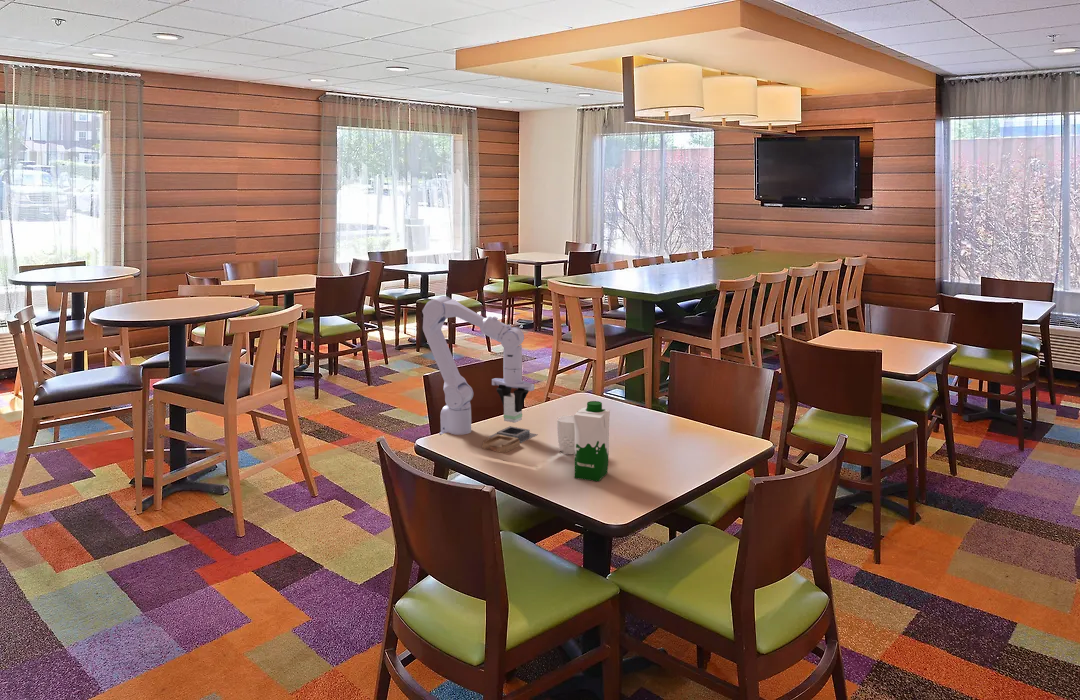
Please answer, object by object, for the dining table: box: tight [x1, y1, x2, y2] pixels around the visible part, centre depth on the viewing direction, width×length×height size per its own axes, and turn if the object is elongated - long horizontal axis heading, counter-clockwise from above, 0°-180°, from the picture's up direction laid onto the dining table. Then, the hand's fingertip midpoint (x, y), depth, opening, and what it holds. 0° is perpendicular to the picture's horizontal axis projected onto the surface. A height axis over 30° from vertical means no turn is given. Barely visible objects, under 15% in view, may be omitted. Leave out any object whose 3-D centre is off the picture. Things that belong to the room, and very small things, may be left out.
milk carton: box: [573, 400, 611, 482], centre depth 212 cm, size 9×9×20 cm
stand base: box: [488, 425, 538, 444], centre depth 246 cm, size 12×10×2 cm
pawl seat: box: [482, 434, 521, 454], centre depth 235 cm, size 8×8×3 cm
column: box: [503, 392, 523, 424], centre depth 244 cm, size 4×4×8 cm
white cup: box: [556, 414, 575, 455], centre depth 233 cm, size 8×8×10 cm
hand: (512, 410), depth 244 cm, fingers closed on column, 4 cm apart
